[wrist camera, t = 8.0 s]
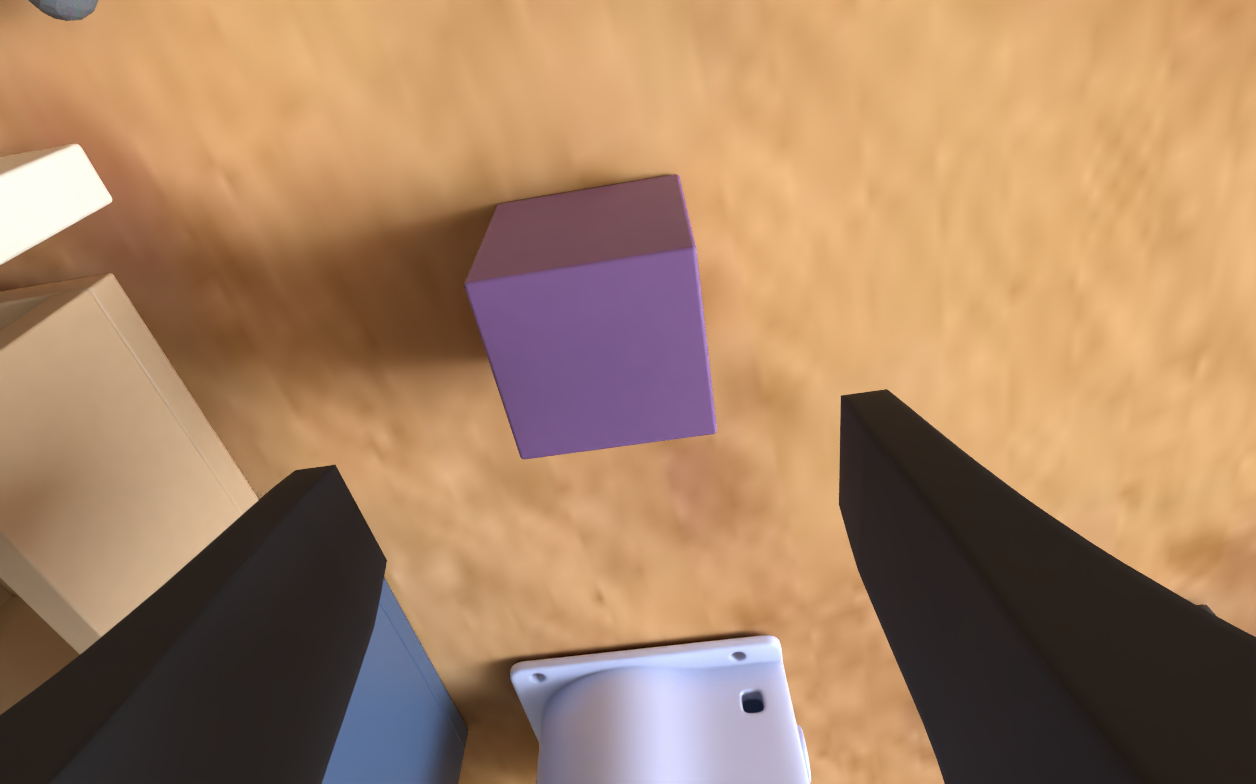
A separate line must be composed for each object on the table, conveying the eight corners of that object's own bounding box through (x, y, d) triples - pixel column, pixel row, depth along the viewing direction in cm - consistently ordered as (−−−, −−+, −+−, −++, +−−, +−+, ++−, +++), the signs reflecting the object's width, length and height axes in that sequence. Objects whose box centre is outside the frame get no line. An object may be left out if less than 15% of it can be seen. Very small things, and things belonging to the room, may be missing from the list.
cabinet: (-8, 543, 21) (-277, 814, 14) (341, 497, 20) (213, 765, 14) (204, 756, 28) (85, 998, 22) (469, 729, 27) (424, 974, 21)
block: (678, 172, 15) (696, 246, 11) (698, 333, 17) (718, 434, 14) (496, 203, 15) (461, 284, 12) (539, 357, 17) (520, 461, 14)
